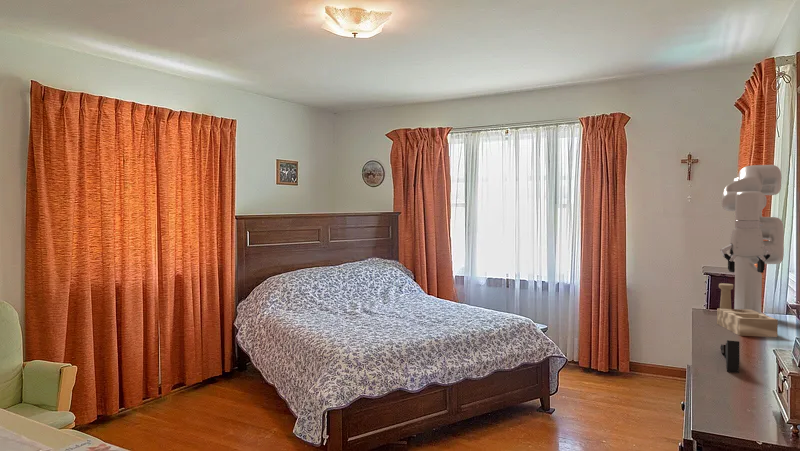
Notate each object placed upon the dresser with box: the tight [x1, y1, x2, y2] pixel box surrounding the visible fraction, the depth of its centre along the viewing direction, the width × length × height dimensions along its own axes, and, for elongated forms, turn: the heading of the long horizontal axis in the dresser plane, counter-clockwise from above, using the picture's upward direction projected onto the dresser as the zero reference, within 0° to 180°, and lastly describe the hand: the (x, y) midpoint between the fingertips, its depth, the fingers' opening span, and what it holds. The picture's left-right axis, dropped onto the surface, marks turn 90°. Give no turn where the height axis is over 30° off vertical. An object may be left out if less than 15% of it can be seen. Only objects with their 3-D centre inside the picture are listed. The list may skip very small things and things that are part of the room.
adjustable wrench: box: [720, 340, 740, 374], centre depth 157 cm, size 8×3×25 cm
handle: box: [718, 282, 734, 309], centre depth 214 cm, size 5×6×15 cm
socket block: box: [716, 308, 779, 338], centre depth 200 cm, size 20×12×6 cm, turn 170°
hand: (745, 272), depth 200 cm, fingers open, 9 cm apart
